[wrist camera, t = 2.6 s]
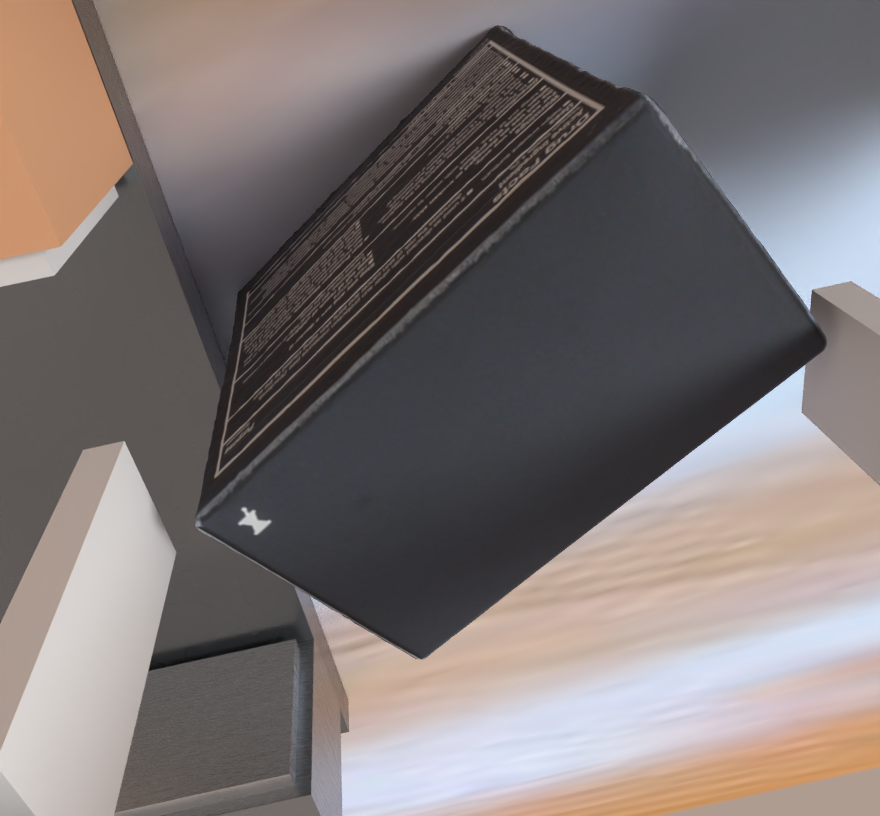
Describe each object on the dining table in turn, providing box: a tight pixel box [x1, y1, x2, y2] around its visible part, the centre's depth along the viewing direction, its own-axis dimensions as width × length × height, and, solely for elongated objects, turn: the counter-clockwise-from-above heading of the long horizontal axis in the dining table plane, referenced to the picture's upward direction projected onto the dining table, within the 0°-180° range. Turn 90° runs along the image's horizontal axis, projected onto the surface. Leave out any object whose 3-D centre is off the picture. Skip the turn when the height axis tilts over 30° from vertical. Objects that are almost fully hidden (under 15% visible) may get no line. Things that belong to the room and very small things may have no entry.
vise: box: [0, 0, 349, 816], centre depth 21 cm, size 28×12×8 cm, turn 10°
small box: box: [195, 26, 827, 659], centre depth 18 cm, size 11×6×10 cm, turn 134°
